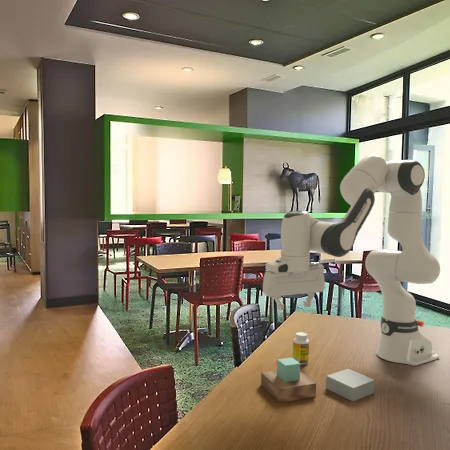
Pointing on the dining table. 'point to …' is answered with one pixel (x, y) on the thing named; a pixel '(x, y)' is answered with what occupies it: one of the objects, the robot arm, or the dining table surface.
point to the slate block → (350, 384)
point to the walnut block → (288, 387)
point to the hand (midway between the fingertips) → (294, 308)
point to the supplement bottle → (301, 348)
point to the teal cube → (288, 369)
